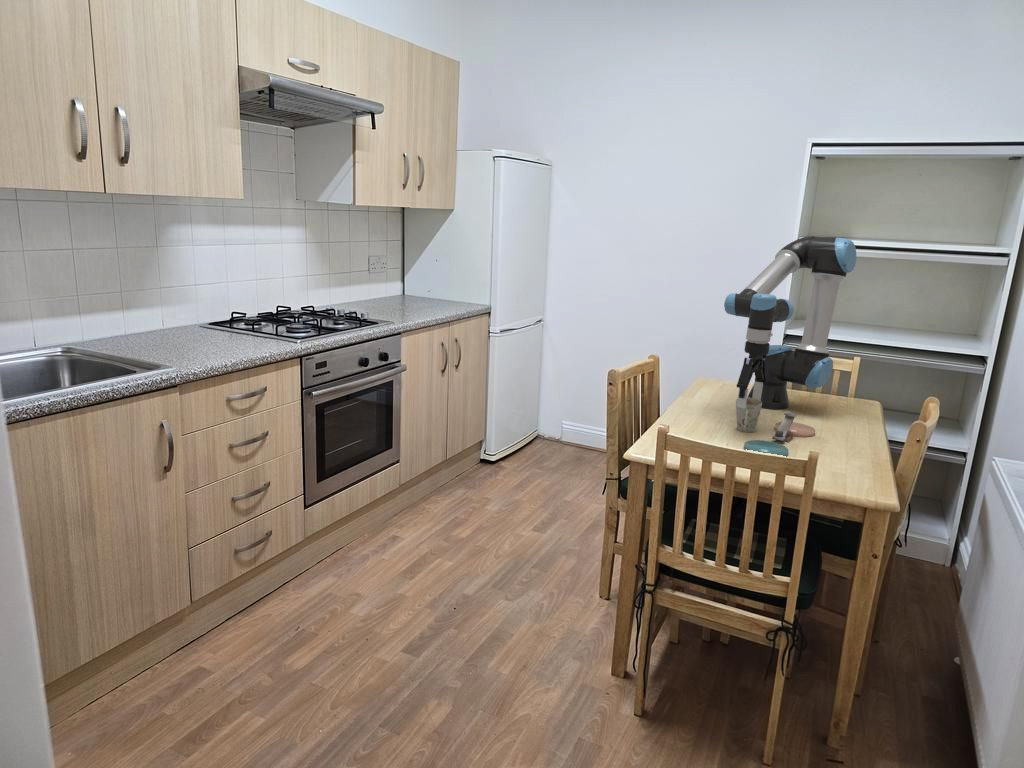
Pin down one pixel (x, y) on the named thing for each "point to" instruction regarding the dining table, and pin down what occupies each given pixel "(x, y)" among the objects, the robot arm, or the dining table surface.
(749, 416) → the mug
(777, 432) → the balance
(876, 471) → the dining table surface
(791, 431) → the dish back
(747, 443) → the dish front
